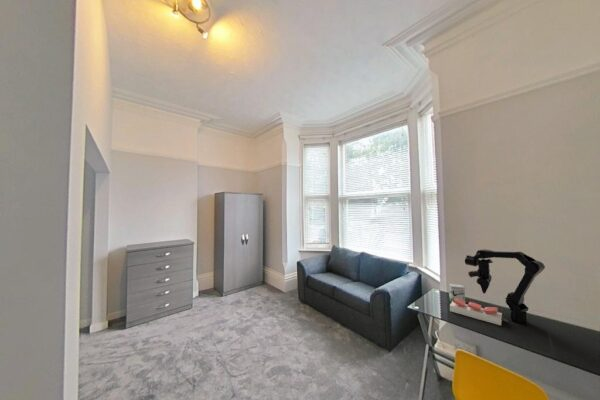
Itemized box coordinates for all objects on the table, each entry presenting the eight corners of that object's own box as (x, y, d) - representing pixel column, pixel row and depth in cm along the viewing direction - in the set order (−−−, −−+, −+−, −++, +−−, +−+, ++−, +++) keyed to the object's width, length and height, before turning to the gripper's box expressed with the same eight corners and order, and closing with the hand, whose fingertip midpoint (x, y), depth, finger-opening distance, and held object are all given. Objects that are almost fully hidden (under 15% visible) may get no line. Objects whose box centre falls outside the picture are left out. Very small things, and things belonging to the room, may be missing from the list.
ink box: (451, 302, 156) (450, 285, 156) (449, 299, 161) (448, 283, 161) (465, 303, 154) (464, 287, 154) (462, 300, 158) (462, 284, 159)
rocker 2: (481, 307, 138) (481, 305, 138) (479, 310, 133) (480, 308, 133) (469, 303, 142) (469, 301, 142) (467, 306, 138) (467, 304, 138)
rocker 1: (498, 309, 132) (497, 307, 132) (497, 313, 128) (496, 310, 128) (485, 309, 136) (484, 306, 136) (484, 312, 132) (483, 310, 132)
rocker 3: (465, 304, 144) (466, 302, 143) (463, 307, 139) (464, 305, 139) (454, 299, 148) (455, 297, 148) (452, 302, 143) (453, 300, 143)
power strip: (508, 321, 130) (508, 314, 130) (507, 327, 123) (507, 320, 123) (452, 306, 150) (452, 300, 150) (450, 311, 143) (449, 304, 143)
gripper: (470, 263, 158) (471, 284, 158) (466, 268, 145) (467, 292, 145) (491, 266, 150) (492, 288, 150) (488, 272, 137) (489, 296, 137)
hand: (484, 291), depth 145 cm, fingers open, 9 cm apart
